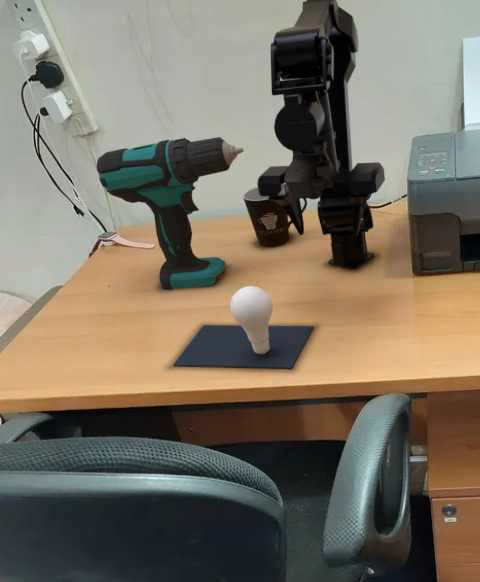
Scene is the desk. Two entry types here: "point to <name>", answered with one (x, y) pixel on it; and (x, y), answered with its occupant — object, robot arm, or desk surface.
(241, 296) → the white rounded smooth part
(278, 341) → the felt mat
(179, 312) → the desk surface
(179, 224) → the power drill
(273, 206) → the coffee mug
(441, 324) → the desk surface
